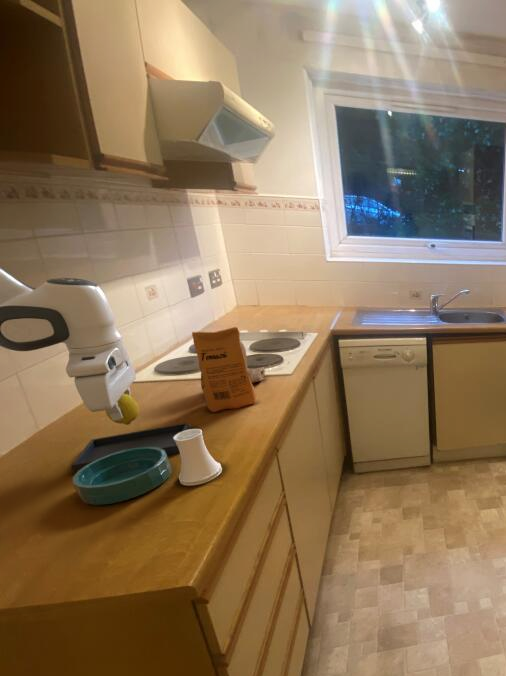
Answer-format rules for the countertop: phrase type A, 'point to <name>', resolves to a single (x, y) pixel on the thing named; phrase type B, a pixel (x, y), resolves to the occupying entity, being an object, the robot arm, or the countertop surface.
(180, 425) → the tray
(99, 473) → the bowl
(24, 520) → the countertop surface
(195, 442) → the vase
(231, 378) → the coffee package
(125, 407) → the lemon
